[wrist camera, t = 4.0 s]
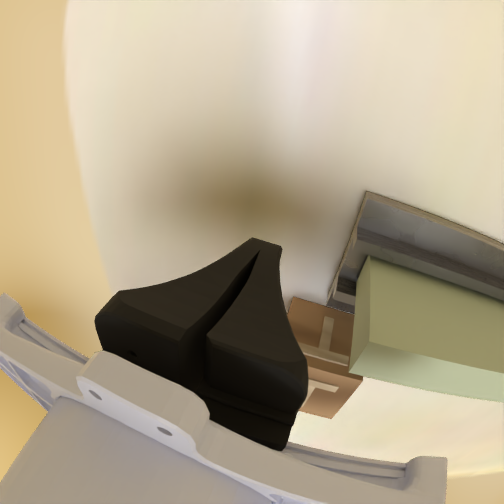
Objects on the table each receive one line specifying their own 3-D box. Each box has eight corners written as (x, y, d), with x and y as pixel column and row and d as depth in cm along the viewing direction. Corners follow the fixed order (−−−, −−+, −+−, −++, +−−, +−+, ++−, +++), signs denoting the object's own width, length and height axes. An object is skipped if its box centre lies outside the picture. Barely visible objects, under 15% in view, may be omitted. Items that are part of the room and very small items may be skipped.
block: (340, 362, 22) (330, 420, 18) (277, 343, 23) (258, 399, 18) (367, 316, 19) (363, 380, 15) (294, 294, 20) (274, 355, 15)
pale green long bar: (356, 281, 16) (348, 372, 11) (369, 251, 15) (369, 341, 10) (531, 335, 14) (553, 407, 9) (547, 314, 13) (575, 385, 8)
